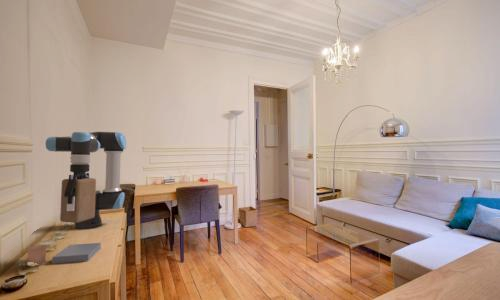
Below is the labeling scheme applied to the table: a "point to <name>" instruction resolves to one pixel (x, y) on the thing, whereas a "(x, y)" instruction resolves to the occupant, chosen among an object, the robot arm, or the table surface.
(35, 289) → the table surface
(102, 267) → the table surface
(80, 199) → the wooden block
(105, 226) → the table surface
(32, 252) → the reddish brown block
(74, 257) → the slate plinth
